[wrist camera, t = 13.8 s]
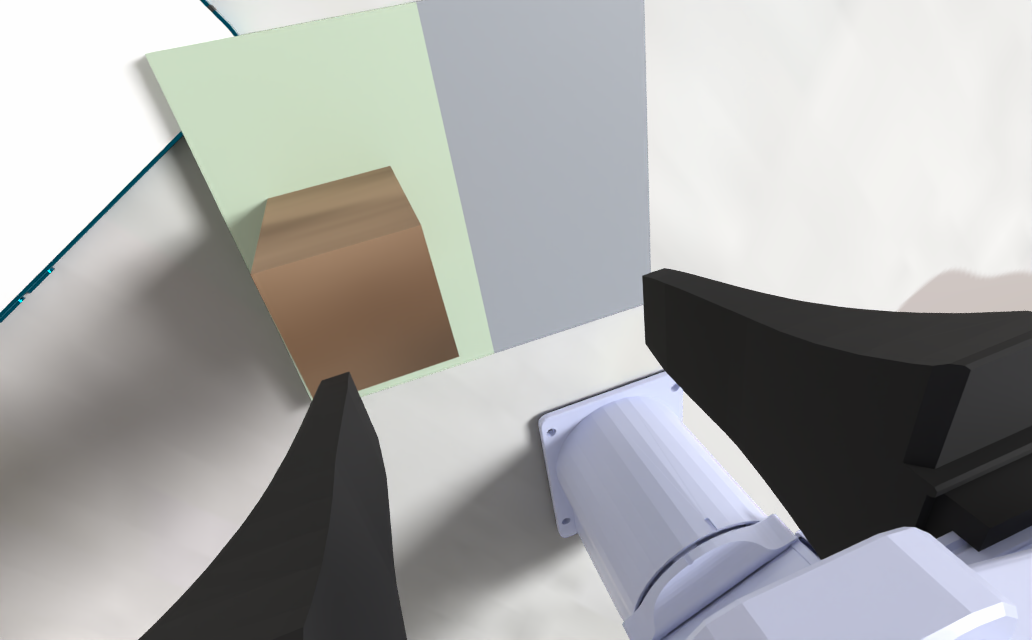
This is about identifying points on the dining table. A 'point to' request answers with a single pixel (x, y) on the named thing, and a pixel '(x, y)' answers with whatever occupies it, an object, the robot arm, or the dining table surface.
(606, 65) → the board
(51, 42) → the smartphone
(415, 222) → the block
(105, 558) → the dining table surface
